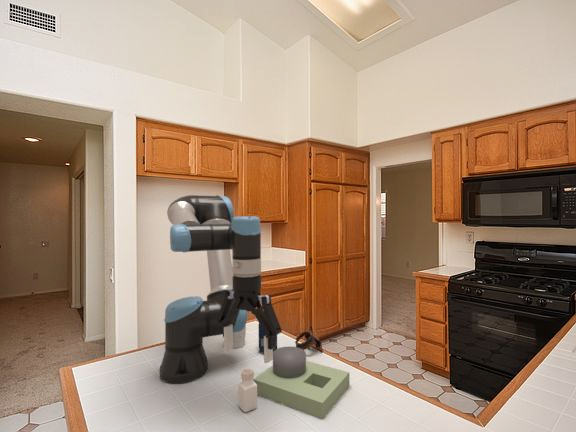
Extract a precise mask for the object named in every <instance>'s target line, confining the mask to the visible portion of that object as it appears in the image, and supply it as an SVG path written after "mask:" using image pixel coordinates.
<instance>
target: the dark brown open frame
mask: <svg viewBox="0 0 576 432" xmlns="http://www.w3.org/2000/svg"><path fill="white" fill-rule="evenodd" d="M303 337H304V338H305V339H306V340H305V341H304V342H303V341H302V342H300V343H299V341H300V339H302V338H303ZM294 343H295V347H298V348H301V349H303V350H304V351H305V350H311V348H310V345H315V348H318V349H320V353H324V352H323V351H324V349H323V345H322V342H321V340H320V338H319V336H318V335H317V334H315V333H314V332H313V330H312V329H308V330H305V331H302V332H301V333H299V334H298V335H297V336H296V338H295V341H294Z"/></svg>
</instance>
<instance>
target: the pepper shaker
mask: <svg viewBox="0 0 576 432" xmlns="http://www.w3.org/2000/svg"><path fill="white" fill-rule="evenodd" d="M240 373H241V375H240V376H241V382H239V383H238V384H237V387H238V388H237V390H238V391H237V394H238V395H237V397H238V399H237V401H238V403H237V404H238V407H239V408H240V409H241V410H242V411H243V412H244V413H248V412H249V411H252V410H255V409H256V408H257V407H258V395H257V384H256V383H255V382H254V381H253V379H254V378H255V376H254V375H255V374H254V369H252V368H245V369H242V370H241V372H240Z"/></svg>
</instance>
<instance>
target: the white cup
mask: <svg viewBox="0 0 576 432" xmlns="http://www.w3.org/2000/svg"><path fill="white" fill-rule="evenodd" d="M246 330H247V324H246V325H245V327H244V329H243V330H241V331H238V332H234V333H233V348H232V349H240V348H243V347H244V346H245V345H246V344H245V343H246Z"/></svg>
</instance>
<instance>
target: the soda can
mask: <svg viewBox="0 0 576 432" xmlns="http://www.w3.org/2000/svg"><path fill="white" fill-rule="evenodd" d="M264 336H266V333H265V332H264V330H263V328H262V327H261V325H260V323H259V322H258V350H259V351H260V353H261V354H263V355H264ZM276 349H278V335H276V336H275V347H274V348H273V352H274V351H275V350H276Z"/></svg>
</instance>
